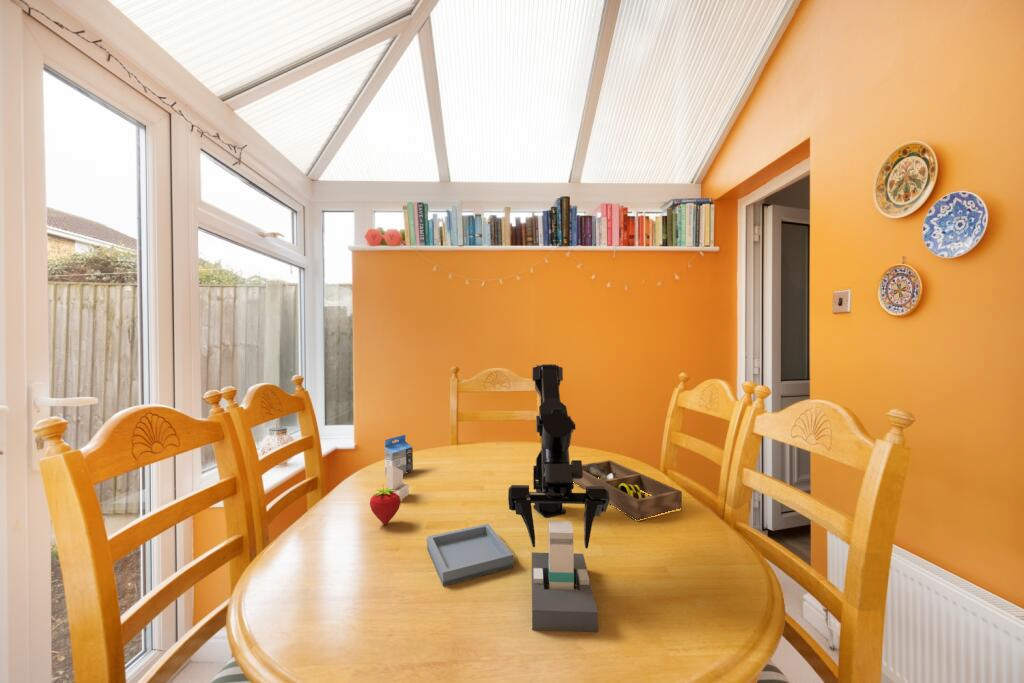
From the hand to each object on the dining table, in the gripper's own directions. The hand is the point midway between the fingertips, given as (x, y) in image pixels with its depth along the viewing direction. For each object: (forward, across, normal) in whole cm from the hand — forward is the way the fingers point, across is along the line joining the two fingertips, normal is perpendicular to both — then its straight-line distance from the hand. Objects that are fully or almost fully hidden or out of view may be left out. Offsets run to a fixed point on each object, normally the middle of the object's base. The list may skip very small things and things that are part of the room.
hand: (560, 547), depth 66 cm
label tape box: (-36, -49, +47) cm, 77 cm away
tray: (-2, -18, +13) cm, 22 cm away
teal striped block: (+6, 0, +6) cm, 8 cm away
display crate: (-26, +21, +37) cm, 49 cm away
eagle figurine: (-30, +16, +41) cm, 53 cm away
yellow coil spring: (-21, +23, +32) cm, 45 cm away
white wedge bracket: (-22, -43, +34) cm, 59 cm away
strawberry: (-11, -40, +23) cm, 48 cm away
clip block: (+6, 0, +6) cm, 8 cm away
